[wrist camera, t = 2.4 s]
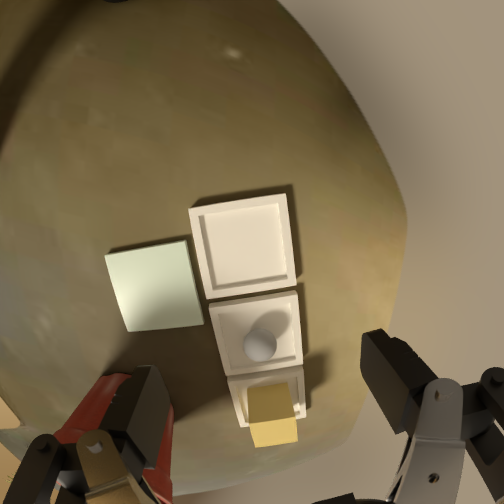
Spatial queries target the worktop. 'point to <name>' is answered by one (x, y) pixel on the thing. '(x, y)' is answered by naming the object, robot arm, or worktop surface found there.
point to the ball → (259, 344)
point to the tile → (155, 287)
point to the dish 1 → (244, 245)
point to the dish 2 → (253, 317)
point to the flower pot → (91, 417)
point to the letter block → (271, 415)
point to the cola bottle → (115, 1)
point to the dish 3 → (265, 378)
